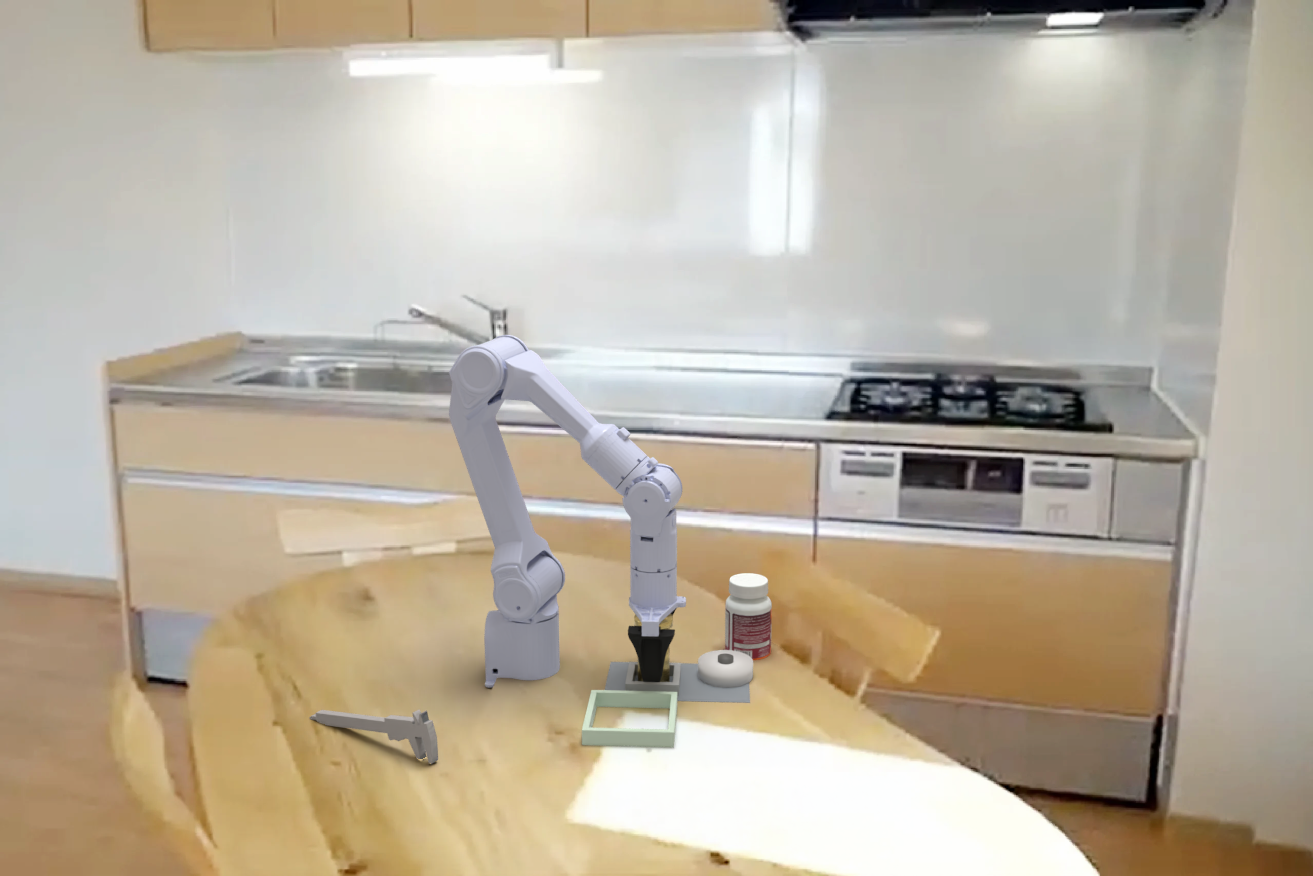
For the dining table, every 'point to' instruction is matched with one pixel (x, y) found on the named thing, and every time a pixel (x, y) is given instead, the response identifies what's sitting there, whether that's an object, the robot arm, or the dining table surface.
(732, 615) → the pill bottle
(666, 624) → the lock pin
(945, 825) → the dining table surface
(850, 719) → the dining table surface
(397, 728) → the caliper
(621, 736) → the tray
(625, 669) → the board
